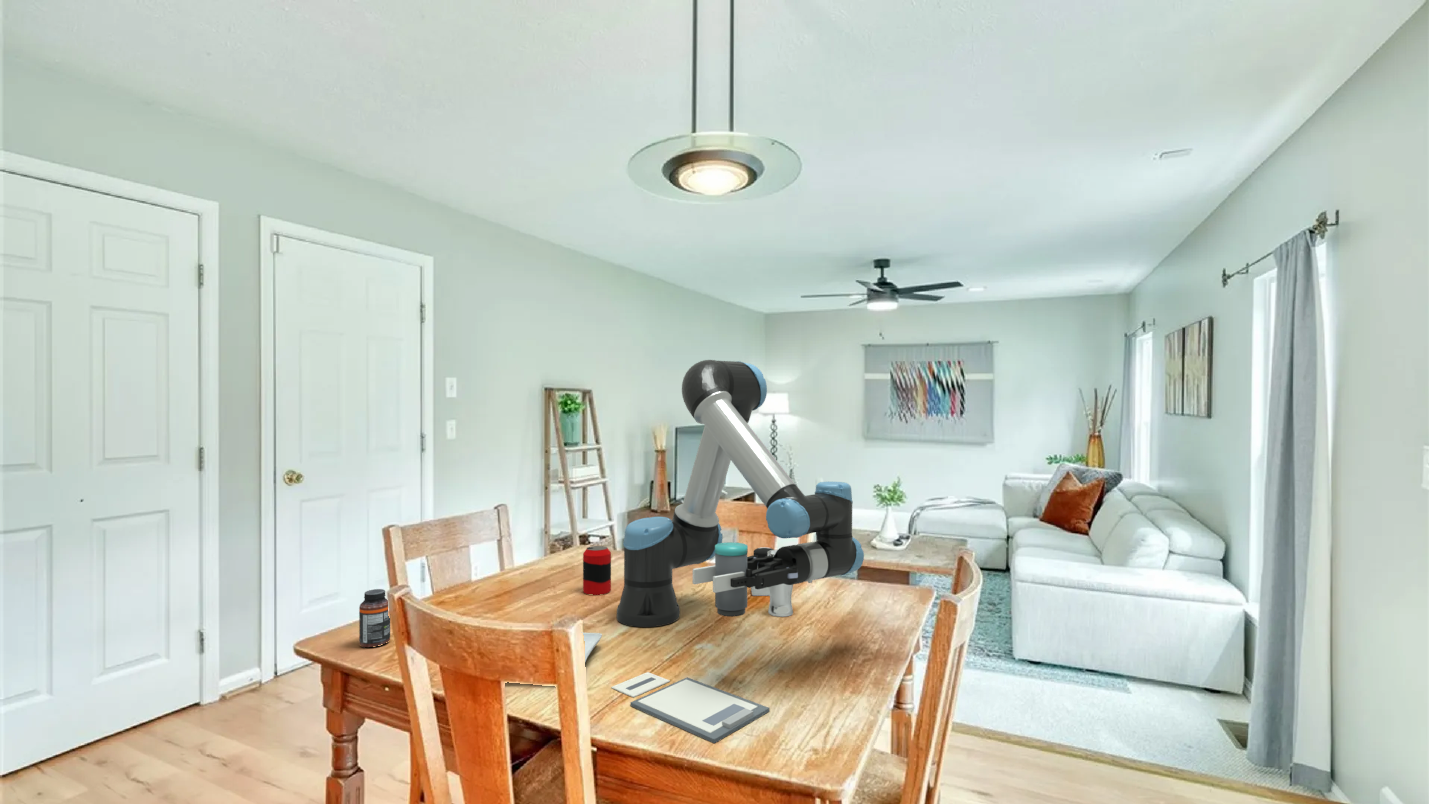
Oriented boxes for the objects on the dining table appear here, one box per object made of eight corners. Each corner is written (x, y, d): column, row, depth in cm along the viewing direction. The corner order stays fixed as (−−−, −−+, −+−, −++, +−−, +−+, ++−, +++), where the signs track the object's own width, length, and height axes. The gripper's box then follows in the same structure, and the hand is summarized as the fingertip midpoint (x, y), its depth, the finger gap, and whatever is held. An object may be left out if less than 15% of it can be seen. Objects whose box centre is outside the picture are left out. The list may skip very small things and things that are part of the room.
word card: (611, 688, 120) (611, 686, 120) (647, 673, 127) (647, 671, 127) (633, 697, 116) (633, 696, 116) (670, 681, 123) (670, 680, 123)
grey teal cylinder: (708, 612, 123) (708, 546, 123) (728, 605, 128) (729, 541, 128) (733, 619, 119) (733, 550, 120) (754, 611, 124) (754, 545, 124)
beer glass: (793, 618, 160) (793, 556, 160) (764, 616, 161) (764, 554, 161) (795, 609, 166) (795, 549, 166) (768, 607, 168) (768, 548, 168)
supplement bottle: (363, 640, 144) (363, 588, 144) (393, 638, 146) (393, 586, 146) (355, 650, 139) (355, 595, 139) (386, 647, 140) (387, 593, 140)
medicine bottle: (778, 596, 178) (778, 551, 178) (752, 596, 178) (752, 551, 178) (776, 588, 185) (776, 545, 186) (750, 588, 186) (750, 545, 186)
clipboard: (630, 705, 113) (630, 698, 113) (687, 680, 123) (687, 673, 123) (714, 743, 100) (714, 734, 100) (769, 711, 111) (769, 703, 111)
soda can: (584, 588, 186) (584, 545, 186) (611, 587, 187) (611, 544, 187) (581, 596, 178) (581, 551, 178) (610, 595, 179) (610, 550, 179)
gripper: (833, 593, 125) (734, 614, 112) (769, 572, 141) (676, 589, 128) (833, 553, 126) (734, 570, 112) (769, 537, 141) (676, 550, 128)
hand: (703, 580), depth 120 cm, fingers closed on grey teal cylinder, 6 cm apart
